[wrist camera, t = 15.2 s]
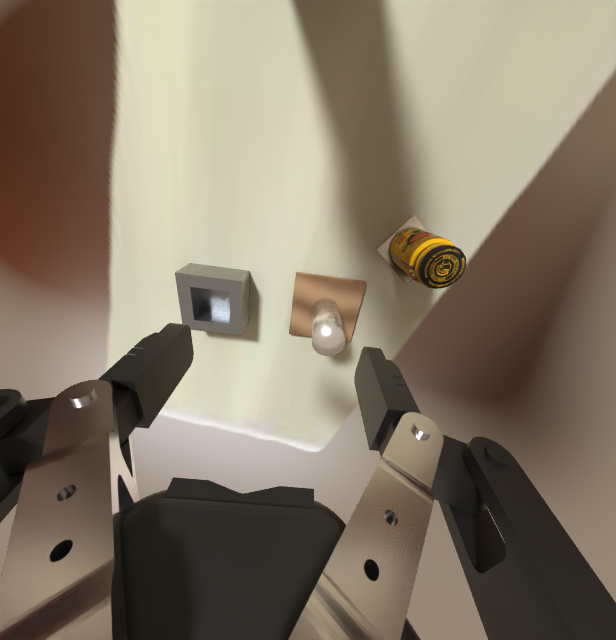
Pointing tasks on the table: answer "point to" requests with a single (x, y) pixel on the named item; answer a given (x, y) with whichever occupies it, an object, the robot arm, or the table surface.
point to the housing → (213, 298)
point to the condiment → (423, 256)
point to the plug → (327, 328)
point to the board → (321, 287)
